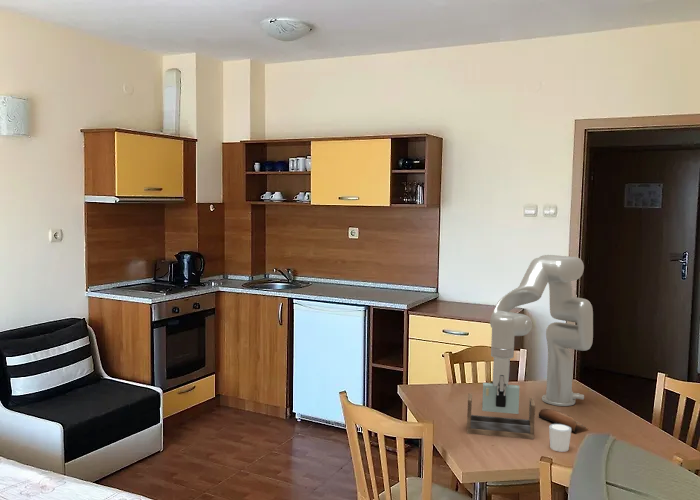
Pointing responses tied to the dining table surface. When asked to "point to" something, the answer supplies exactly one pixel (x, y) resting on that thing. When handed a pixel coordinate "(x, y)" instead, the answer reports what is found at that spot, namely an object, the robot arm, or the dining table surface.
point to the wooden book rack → (501, 424)
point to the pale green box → (490, 399)
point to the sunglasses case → (563, 420)
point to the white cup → (559, 437)
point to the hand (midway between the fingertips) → (500, 404)
